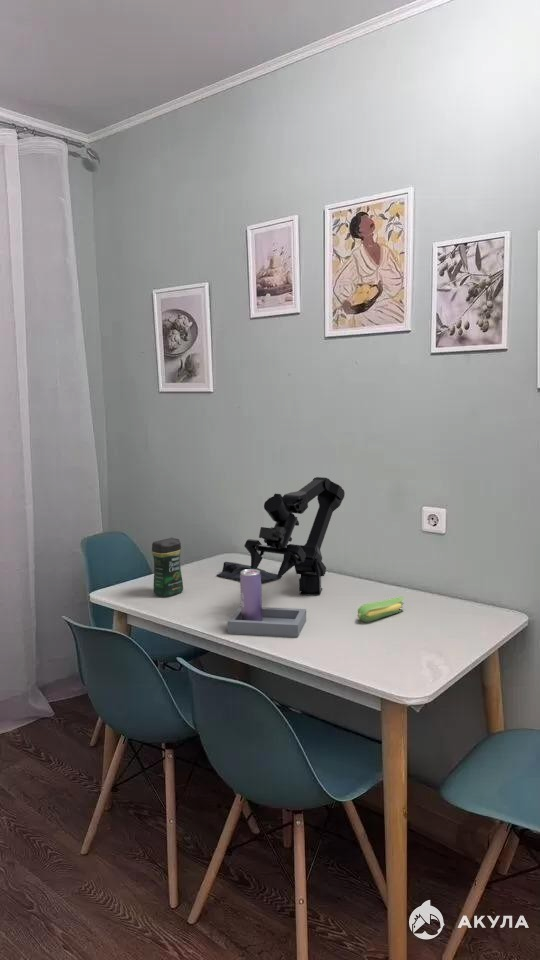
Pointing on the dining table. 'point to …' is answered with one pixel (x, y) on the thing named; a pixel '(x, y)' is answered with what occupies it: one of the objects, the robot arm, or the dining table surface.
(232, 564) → the dark slate chunk
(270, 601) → the dining table surface
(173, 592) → the coffee jar
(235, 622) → the tray
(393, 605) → the edible corn
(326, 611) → the dining table surface
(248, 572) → the beverage can
